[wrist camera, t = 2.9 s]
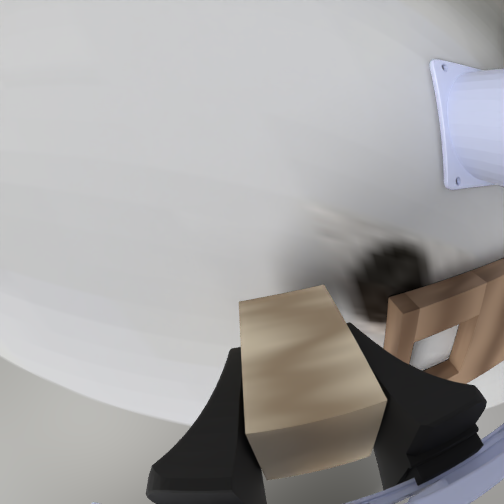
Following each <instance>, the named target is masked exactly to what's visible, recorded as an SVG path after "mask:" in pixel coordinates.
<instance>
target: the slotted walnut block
mask: <svg viewBox="0 0 504 504" xmlns="http://www.w3.org/2000/svg"><path fill="white" fill-rule="evenodd" d="M458 324H459V327H458V331H457V334H456V338H455V341H454V344H453V347H452V351H451V354H450V357H449V360H446V361H444V362H442V363H440V364H438V365H436V366H433V367H431V368H429V369H427V370H424V372H426V373H429V374H431V375H434V376H437V377H440V378H443V379H447V380H450V381H454V382H458V383H464V384H466V383H468V382H470V381H472V380H473V379H475V378H477V377H478V376H480V375H482V374H483V373H485V372H486V371H488V370H490V369H491V368H493V367H494V366H496V365H497V364H499V363H500V362H502V361H503V360H504V258H503V259H500V260H498V261H495V262H493V263H490V264H487V265H485V266H482V267H479V268H477V269H474V270H471V271H469V272H466V273H463V274H460V275H458V276H455V277H452V278H449V279H446V280H443V281H440V282H437V283H434V284H431V285H428V286H425V287H421V288H418V289H415V290H412V291H409V292H405V293H402V294H399V295H395V296H392V297H389V300H388V312H387V323H386V332H385V340H384V348H383V349H384V350H386V351H387V352H389V353H390V354H392V355H393V356H395V357H397V358H398V359H400V360H402V361H403V362H405V363H407V364H409V362H410V358H411V354H412V349H413V344H414V342H416V341H419V340H422V339H424V338H427V337H429V336H432V335H434V334H437V333H439V332H441V331H444V330H446V329H448V328H451V327H453V326H455V325H458Z"/></svg>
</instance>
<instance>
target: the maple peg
mask: <svg viewBox="0 0 504 504" xmlns="http://www.w3.org/2000/svg"><path fill="white" fill-rule="evenodd" d="M239 316H240V339H241V361H242V381H243V399H244V417H245V434H246V436H247V439H248V441H249V443H250V445H251V447H252V450H253V452H254V454H255V456H256V458H257V461H258V463H259V465H260V467H261V469H262V471H263V473H264V475H265V477H266V480H272V479H279V478H285V477H291V476H296V475H301V474H306V473H311V472H315V471H320V470H324V469H328V468H332V467H336V466H339V465H343V464H347V463H350V462H353V461H357V460H359V459H363V458H366V457H369V456H370V455H371V452H372V449H373V446H374V443H375V440H376V437H377V434H378V431H379V428H380V424H381V421H382V418H383V414H384V411H385V407H386V403H387V398H386V396H385V395H384V393H383V391H382V389H381V387H380V385H379V383H378V381H377V379H376V377H375V375H374V373H373V371H372V370H371V368H370V366H369V364H368V362H367V360H366V358H365V357H364V355H363V353H362V351H361V349H360V347H359V345H358V344H357V342H356V340H355V338H354V336H353V335H352V333H351V331H350V329H349V327H348V326H347V324H346V322H345V320H344V319H343V317H342V315H341V313H340V311H339V310H338V308H337V306H336V304H335V303H334V301H333V299H332V298H331V296H330V294H329V292H328V291H327V289H326V287H325V286H324V285H320V286H315V287H311V288H306V289H301V290H297V291H292V292H287V293H282V294H277V295H272V296H267V297H262V298H256V299H251V300H246V301H240V302H239Z"/></svg>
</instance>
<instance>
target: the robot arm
mask: <svg viewBox="0 0 504 504" xmlns="http://www.w3.org/2000/svg"><path fill="white" fill-rule="evenodd" d="M429 66H430V71H431V75H432V80H433V85H434V90H435V96H436V101H437V108H438V115H439V122H440V131H441V140H442V152H443V169H444V185H445V187H446V188H447V189H450V190H456V189H464V188H471V187H479V186H488V185H499V186H502V187H504V68H503V69H492V70H480V69H476V68H473V67H469V66H465V65H461V64H457V63H453V62H448V61H444V60H439V59H434V60H431V61H430V63H429ZM442 67H443V68H444V70H443V69H442ZM456 178H457V182H455V181H456ZM346 324H347V326H348V327H349V329H350V331H351V333H352V335H353V336H354V338H355V340H356V342H357V344H358V345H359V347H360V349H361V351H362V353H363V355H364V357H365V358H366V360H367V362H368V364H369V366H370V368H371V370H372V371H373V373H374V375H375V377H376V379H377V381H378V383H379V385H380V387H381V389H382V391H383V393H384V395H385V396H386V398H387V403H386V407H385V411H384V414H383V418H382V421H381V424H380V428H379V431H378V434H377V437H376V440H375V443H374V446H373V449H374V452H375V456H376V460H377V463H378V467H379V471H380V476H381V480H382V485H383V491H381V492H378V493H375V494H372V495H370V496H366V497H364V498H360V499H357V500H354V501H351V502H347V503H344V504H395V503H397V502H399V501H402V500H404V499H406V498H408V497H410V498H409V501H408V502H407V503H404V504H470V503H471V502H473V501H474V500H475V499H477V498H479V497H480V496H481V495H483V494H484V493H486V492H487V491H488V490H490V489H491V488H492V487H494V486H495V485H496V484H497V483H499V482H500V481H501V480H503V479H504V423H503V424H502V425H501V426H500V427H498V428H497V429H495V430H494V431H493V432H491V433H490V434H489V435H487V436H486V437H484V438H483V439H480V438H479V436H478V435H477V433H476V432H478V427H477V425H476V424H475V423H476V422H477V420H478V419H479V417H480V416H481V414H482V413H483V411H484V409H485V407H486V403H487V401H486V399H485V398H484V397H483V395H482V394H481V392H480V391H479V390H478V389H477V388H476V386H475V385H469V384H464V383H458V382H454V381H450V380H447V379H443V378H440V377H437V376H434V375H431V374H429V373H426V372H424V371H421V370H419V369H417V368H415V367H413V366H411V365H409V364H407V363H405V362H403V361H402V360H400V359H398V358H397V357H395V356H393V355H392V354H390V353H389V352H387V351H386V350H384V349H383V348H382V347H380V346H379V345H378V344H376V343H375V342H374V341H372V340H371V339H370V338H368V337H367V336H366V335H365V334H363V333H362V332H361V331H360V330H359V329H357V328H356V327H355V326H354V325H353V324H351V323H346ZM146 495H147V497H148V498H149V499H150V500H151V501H152V502H154V503H156V504H267V502H266V496H265V490H264V484H263V477H262V470H261V467H260V465H259V463H258V461H257V458H256V456H255V454H254V452H253V450H252V447H251V445H250V443H249V441H248V439H247V436H246V434H245V417H244V399H243V381H242V361H241V347H238V348H232V349H231V350H230V351H229V354H228V358H227V361H226V364H225V366H224V369H223V372H222V374H221V376H220V379H219V381H218V383H217V385H216V388H215V389H214V391H213V393H212V395H211V397H210V399H209V401H208V403H207V404H206V406H205V408H204V409H203V411H202V412H201V414H200V415H199V417H198V418H197V420H196V421H195V422H194V424H193V425H192V426H191V428H190V429H189V430H188V431H187V433H186V434H185V435H184V436H183V437H182V439H180V440H179V441H178V443H177V444H176V445H175V446H174V447H173V448H172V449H171V450H170V451H169V452H168V453H166V454H165V455H164V456H163V457H162V458H161V459H160V460H158V461H157V462H156V463H155V464H153V465H152V468H151V471H150V474H149V478H148V484H147V490H146ZM413 495H414V496H413ZM411 496H412V497H411ZM92 504H99V503H95V502H92Z"/></svg>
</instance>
